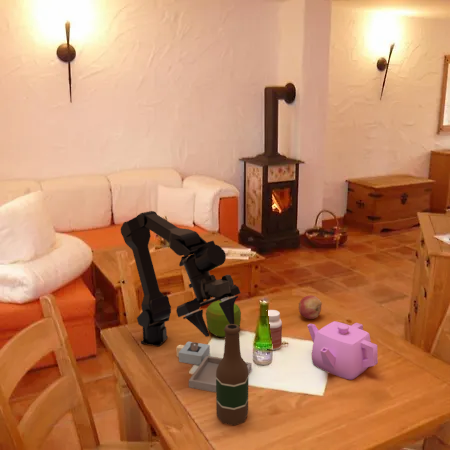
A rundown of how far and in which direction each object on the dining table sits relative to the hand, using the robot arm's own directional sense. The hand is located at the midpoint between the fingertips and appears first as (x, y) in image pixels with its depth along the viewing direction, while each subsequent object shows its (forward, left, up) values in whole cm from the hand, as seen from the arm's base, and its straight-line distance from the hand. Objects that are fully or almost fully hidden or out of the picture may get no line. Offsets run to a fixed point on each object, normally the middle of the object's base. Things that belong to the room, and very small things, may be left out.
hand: (220, 330), depth 137 cm
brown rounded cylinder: (-11, +9, -15) cm, 21 cm away
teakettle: (+30, +18, -15) cm, 38 cm away
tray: (0, +1, -15) cm, 15 cm away
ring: (-11, +9, -15) cm, 21 cm away
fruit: (+17, +46, -15) cm, 51 cm away
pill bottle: (+9, +23, -15) cm, 29 cm away
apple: (-8, +27, -15) cm, 32 cm away
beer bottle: (+8, -14, -15) cm, 22 cm away
